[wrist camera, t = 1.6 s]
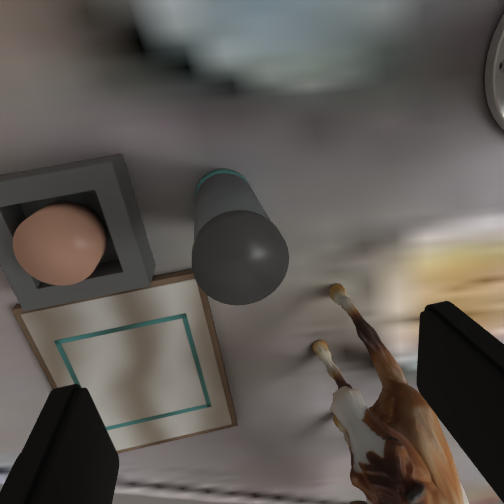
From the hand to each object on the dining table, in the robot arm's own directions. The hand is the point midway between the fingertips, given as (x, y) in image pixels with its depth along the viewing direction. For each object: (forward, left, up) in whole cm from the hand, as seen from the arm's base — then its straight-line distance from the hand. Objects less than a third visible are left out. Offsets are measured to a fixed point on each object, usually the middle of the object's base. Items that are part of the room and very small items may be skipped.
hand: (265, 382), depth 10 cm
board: (+10, +14, -20) cm, 26 cm away
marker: (0, 0, -20) cm, 20 cm away
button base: (+11, 0, -20) cm, 22 cm away
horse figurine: (-6, +22, -20) cm, 30 cm away
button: (+11, 0, -17) cm, 20 cm away
